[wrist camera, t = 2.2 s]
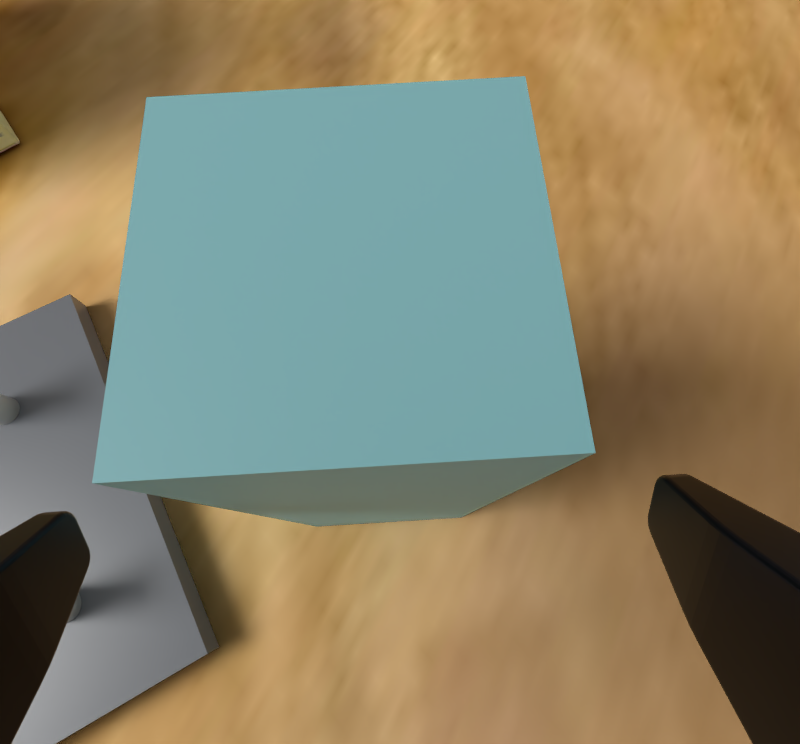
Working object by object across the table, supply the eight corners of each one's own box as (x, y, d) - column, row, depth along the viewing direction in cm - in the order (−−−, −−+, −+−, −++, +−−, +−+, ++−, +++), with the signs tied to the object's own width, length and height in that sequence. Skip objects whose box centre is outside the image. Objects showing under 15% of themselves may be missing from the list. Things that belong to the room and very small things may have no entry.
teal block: (460, 517, 17) (595, 453, 5) (316, 526, 17) (92, 483, 5) (447, 380, 19) (525, 76, 7) (316, 388, 19) (146, 96, 7)
